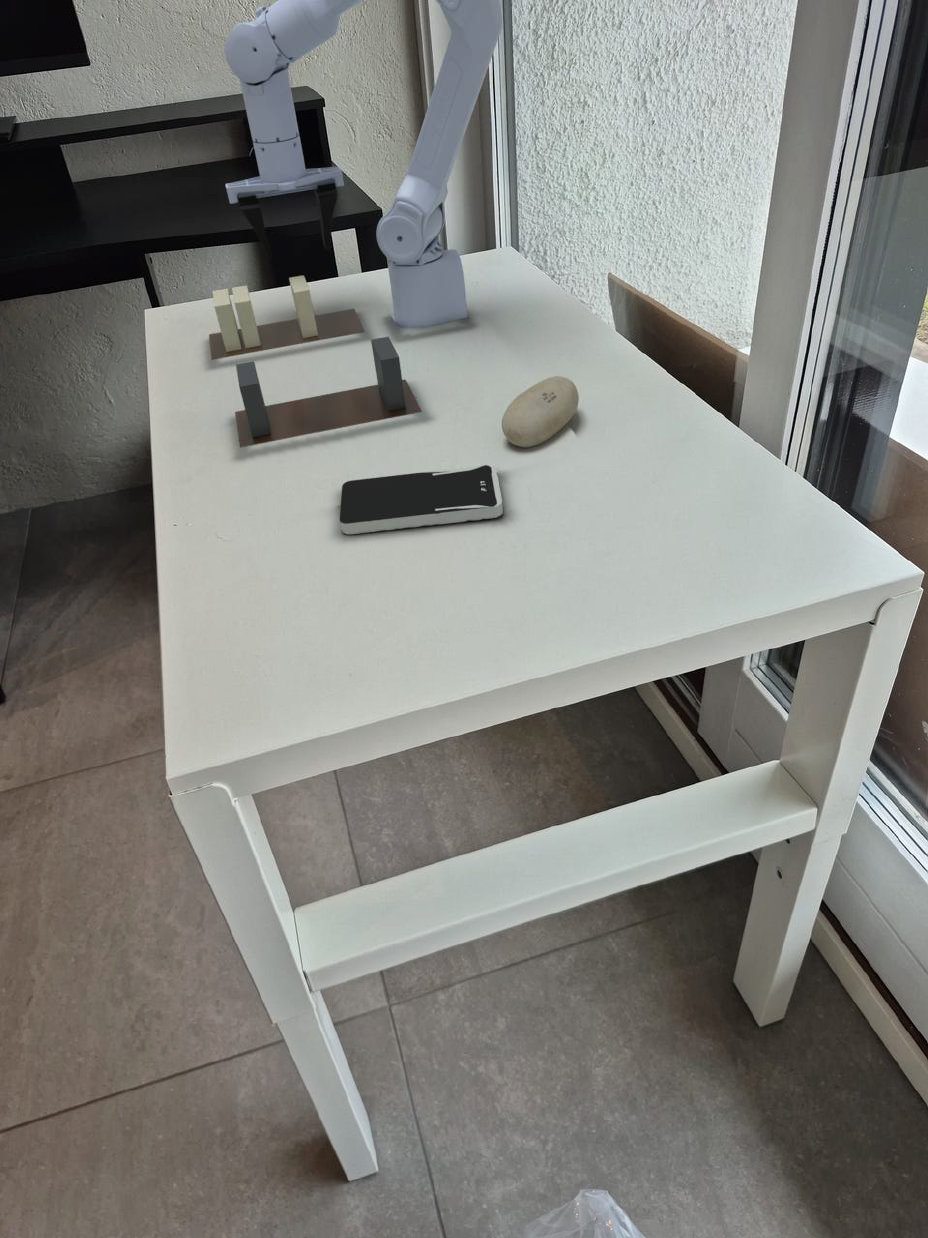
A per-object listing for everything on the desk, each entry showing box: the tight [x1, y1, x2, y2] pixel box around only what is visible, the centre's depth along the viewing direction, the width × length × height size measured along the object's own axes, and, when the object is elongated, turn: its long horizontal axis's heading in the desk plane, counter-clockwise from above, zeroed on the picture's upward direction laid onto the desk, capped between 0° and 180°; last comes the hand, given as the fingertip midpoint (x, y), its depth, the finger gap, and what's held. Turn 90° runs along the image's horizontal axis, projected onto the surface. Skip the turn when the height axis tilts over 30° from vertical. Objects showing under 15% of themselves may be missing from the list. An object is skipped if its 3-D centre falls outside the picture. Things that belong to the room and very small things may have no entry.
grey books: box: [235, 336, 406, 438], centre depth 99 cm, size 17×6×6 cm, turn 105°
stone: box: [501, 375, 580, 449], centre depth 93 cm, size 6×6×12 cm
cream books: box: [212, 284, 261, 352], centre depth 117 cm, size 4×6×6 cm
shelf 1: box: [208, 308, 366, 361], centre depth 120 cm, size 20×9×1 cm, turn 105°
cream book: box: [288, 275, 318, 338], centre depth 118 cm, size 2×6×6 cm, turn 14°
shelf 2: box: [234, 378, 423, 449], centre depth 101 cm, size 20×9×1 cm, turn 105°
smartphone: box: [339, 464, 504, 536], centre depth 85 cm, size 8×1×15 cm
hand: (298, 251), depth 119 cm, fingers open, 7 cm apart
